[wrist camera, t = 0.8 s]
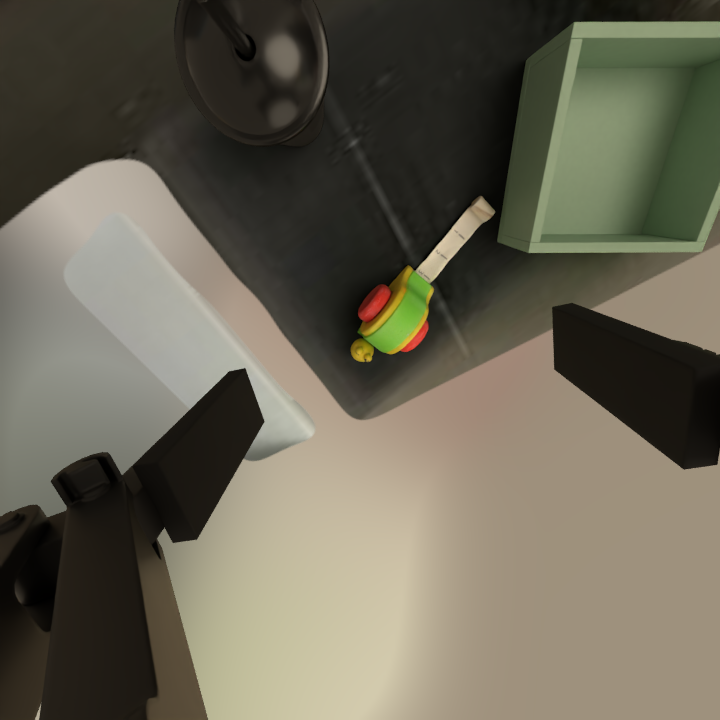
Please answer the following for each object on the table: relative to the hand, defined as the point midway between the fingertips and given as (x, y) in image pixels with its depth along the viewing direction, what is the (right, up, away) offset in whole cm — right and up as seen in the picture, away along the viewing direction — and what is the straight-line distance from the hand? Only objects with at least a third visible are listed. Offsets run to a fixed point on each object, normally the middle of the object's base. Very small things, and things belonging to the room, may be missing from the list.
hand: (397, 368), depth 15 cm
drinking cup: (-7, +21, +15) cm, 27 cm away
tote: (+19, +18, +16) cm, 31 cm away
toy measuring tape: (+4, +8, +21) cm, 23 cm away
